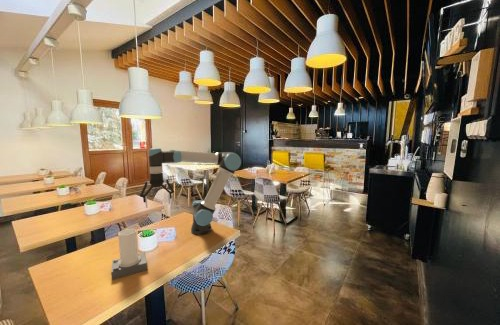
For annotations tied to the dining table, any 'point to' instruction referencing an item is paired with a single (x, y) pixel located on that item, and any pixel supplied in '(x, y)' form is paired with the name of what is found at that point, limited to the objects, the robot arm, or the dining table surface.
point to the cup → (128, 246)
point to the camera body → (128, 267)
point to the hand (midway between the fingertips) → (158, 205)
